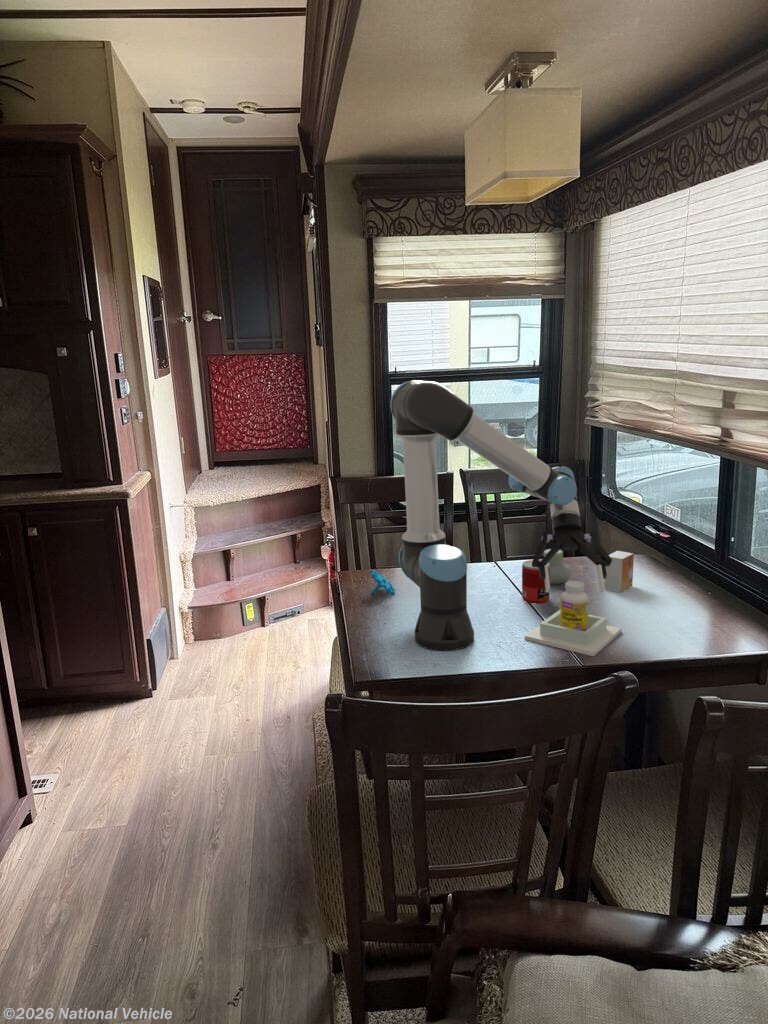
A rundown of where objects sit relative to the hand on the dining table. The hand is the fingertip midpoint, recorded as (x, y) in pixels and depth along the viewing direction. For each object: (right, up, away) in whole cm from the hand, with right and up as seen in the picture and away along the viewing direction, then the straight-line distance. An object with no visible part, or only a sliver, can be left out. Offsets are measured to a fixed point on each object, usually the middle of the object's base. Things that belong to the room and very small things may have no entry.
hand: (575, 590), depth 175 cm
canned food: (-4, -6, +26) cm, 27 cm away
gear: (-49, -5, +37) cm, 62 cm away
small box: (+23, -3, +34) cm, 41 cm away
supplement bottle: (-1, -11, -1) cm, 11 cm away
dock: (-1, -11, 0) cm, 12 cm away
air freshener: (+5, -2, +42) cm, 42 cm away
